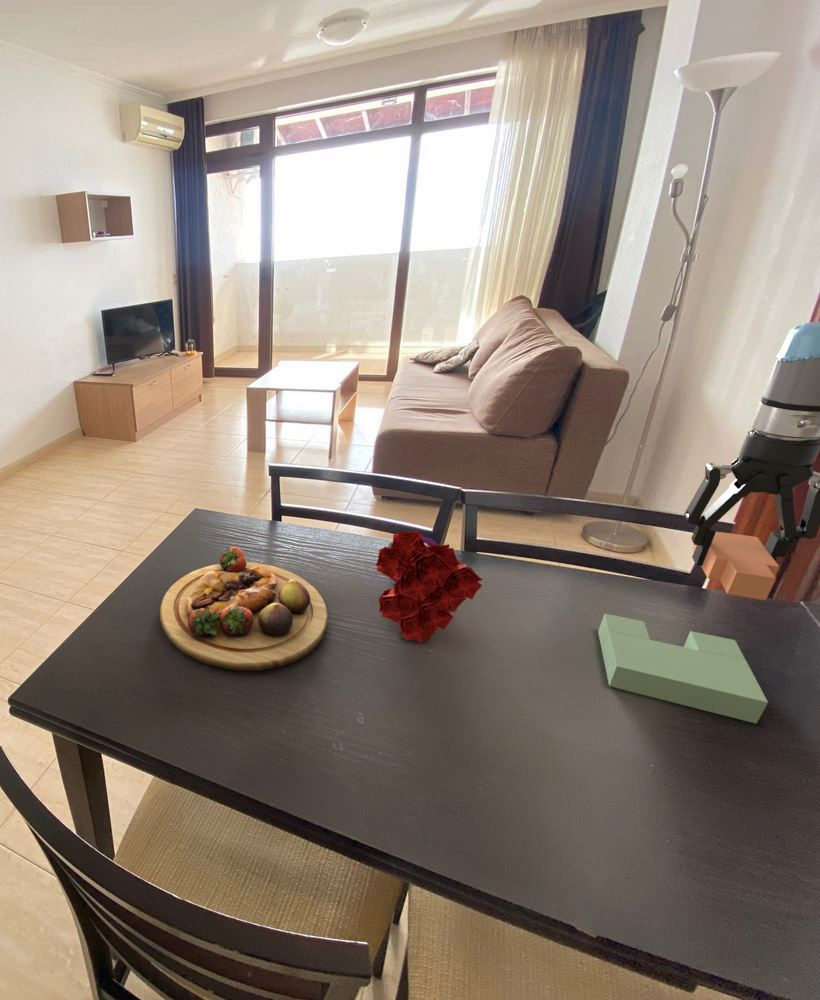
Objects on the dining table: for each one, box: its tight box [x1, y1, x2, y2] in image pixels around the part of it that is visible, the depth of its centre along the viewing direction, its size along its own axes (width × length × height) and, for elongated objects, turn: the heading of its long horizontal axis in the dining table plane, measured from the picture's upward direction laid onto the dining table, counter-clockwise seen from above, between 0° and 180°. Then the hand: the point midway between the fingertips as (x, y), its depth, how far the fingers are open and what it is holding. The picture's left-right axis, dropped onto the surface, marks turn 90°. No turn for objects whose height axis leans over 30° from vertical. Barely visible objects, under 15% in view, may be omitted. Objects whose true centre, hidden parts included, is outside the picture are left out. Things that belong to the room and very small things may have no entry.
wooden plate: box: [159, 546, 329, 671], centre depth 103 cm, size 32×32×8 cm
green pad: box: [597, 613, 769, 725], centre depth 82 cm, size 16×14×4 cm
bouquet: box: [375, 530, 483, 643], centre depth 104 cm, size 20×16×30 cm
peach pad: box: [691, 531, 780, 601], centre depth 86 cm, size 7×14×4 cm, turn 149°
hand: (728, 566), depth 88 cm, fingers closed on peach pad, 7 cm apart
